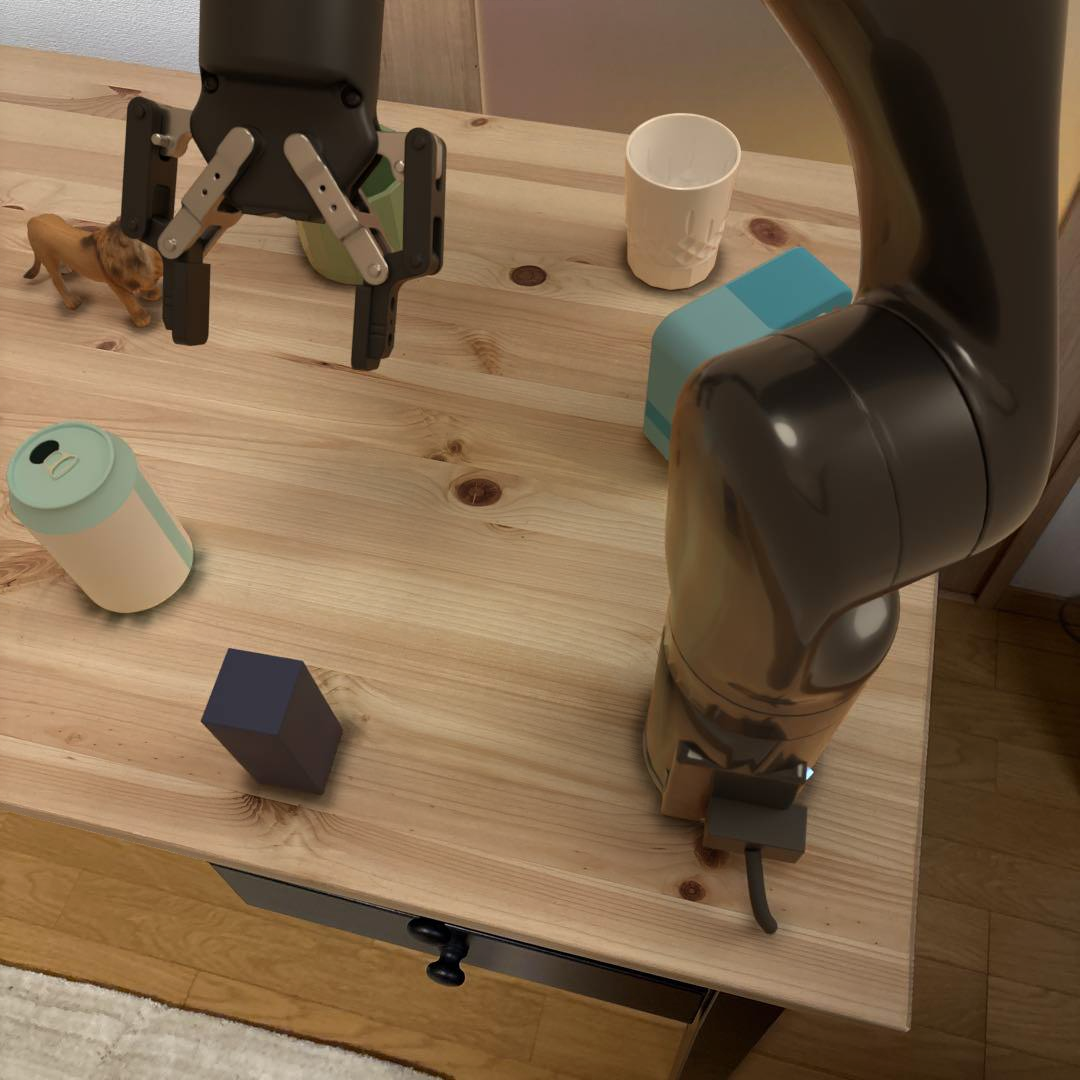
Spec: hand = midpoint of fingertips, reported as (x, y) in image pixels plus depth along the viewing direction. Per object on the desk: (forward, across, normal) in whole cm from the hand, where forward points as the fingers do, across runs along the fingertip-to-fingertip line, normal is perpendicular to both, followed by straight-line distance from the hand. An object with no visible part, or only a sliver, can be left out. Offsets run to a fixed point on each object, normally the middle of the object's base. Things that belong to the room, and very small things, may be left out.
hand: (277, 356), depth 46 cm
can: (+16, -14, +13) cm, 25 cm away
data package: (+4, +22, +26) cm, 34 cm away
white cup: (-7, +16, +36) cm, 40 cm away
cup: (-6, -8, +35) cm, 36 cm away
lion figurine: (+1, -25, +29) cm, 38 cm away
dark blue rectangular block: (+23, 0, +6) cm, 24 cm away
